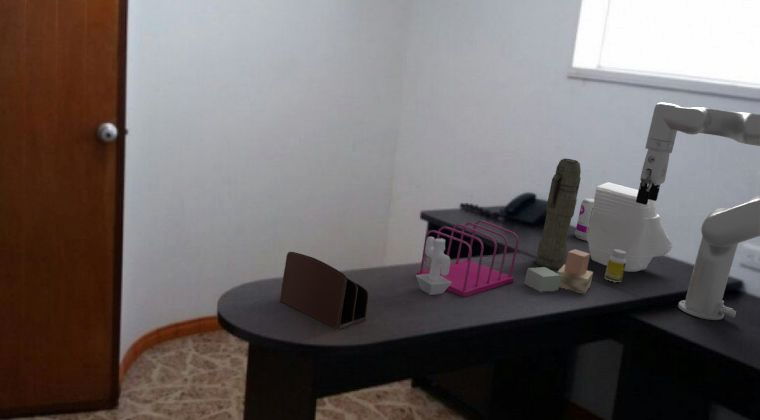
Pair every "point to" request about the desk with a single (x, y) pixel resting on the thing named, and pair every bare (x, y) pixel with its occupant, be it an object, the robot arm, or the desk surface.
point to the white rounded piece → (625, 228)
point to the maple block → (575, 280)
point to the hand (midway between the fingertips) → (646, 201)
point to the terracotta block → (577, 262)
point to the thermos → (559, 214)
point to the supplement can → (584, 218)
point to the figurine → (435, 268)
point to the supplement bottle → (616, 266)
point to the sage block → (542, 279)
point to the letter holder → (322, 292)
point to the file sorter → (473, 264)
